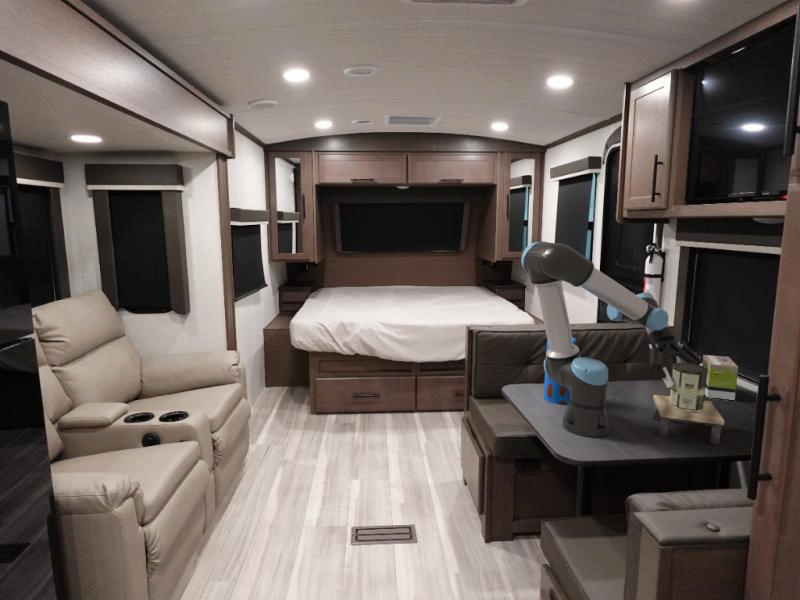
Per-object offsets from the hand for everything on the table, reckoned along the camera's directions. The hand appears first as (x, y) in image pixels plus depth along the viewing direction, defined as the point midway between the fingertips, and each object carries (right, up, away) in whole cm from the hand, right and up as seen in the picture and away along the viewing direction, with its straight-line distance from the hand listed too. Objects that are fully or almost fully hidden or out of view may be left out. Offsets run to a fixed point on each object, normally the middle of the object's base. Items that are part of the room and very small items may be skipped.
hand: (687, 384), depth 169 cm
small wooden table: (0, -16, +2) cm, 16 cm away
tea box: (+34, -10, +38) cm, 52 cm away
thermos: (-35, -11, +29) cm, 47 cm away
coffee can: (-1, -8, 0) cm, 8 cm away
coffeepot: (+24, -9, +42) cm, 50 cm away
